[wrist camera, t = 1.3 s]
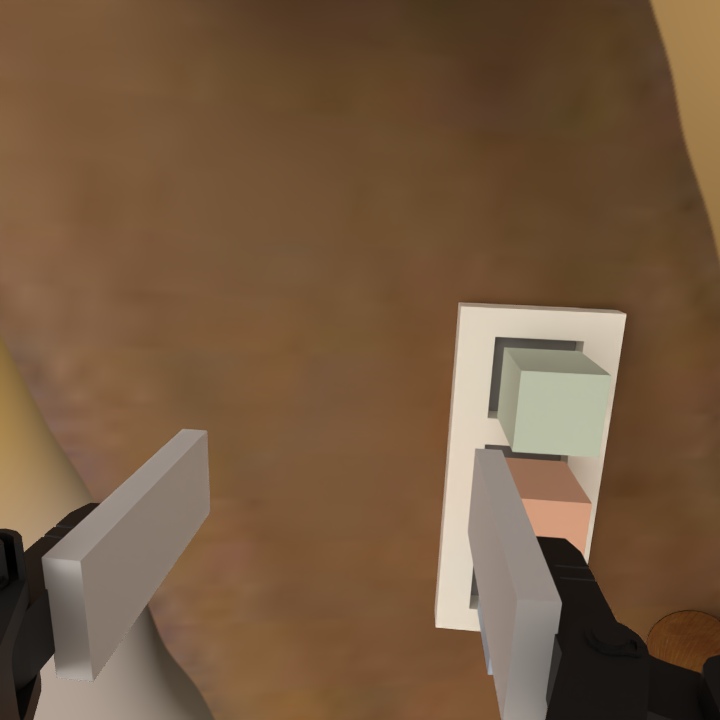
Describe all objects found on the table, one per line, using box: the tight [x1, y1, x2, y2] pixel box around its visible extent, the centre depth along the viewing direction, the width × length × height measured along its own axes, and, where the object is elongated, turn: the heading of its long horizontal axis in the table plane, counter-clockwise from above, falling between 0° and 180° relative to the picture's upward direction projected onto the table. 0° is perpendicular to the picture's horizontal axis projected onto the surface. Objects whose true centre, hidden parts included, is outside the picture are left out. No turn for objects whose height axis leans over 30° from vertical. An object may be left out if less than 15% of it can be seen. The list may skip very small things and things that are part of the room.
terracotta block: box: [505, 458, 592, 557], centre depth 37 cm, size 5×5×6 cm
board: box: [435, 302, 626, 631], centre depth 42 cm, size 26×11×2 cm, turn 178°
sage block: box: [497, 347, 611, 457], centre depth 35 cm, size 5×5×6 cm
